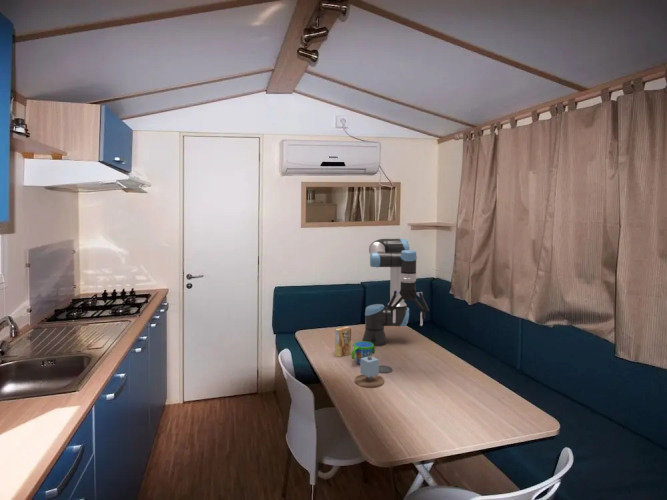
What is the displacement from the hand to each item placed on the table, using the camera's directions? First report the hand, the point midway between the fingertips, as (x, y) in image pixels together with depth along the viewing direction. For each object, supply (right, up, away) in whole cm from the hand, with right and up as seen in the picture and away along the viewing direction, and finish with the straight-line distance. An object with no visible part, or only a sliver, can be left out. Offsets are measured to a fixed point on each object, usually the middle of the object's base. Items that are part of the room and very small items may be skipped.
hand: (407, 323), depth 198 cm
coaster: (-11, -25, +6) cm, 28 cm away
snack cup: (-21, -24, +16) cm, 36 cm away
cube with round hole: (-20, -22, -8) cm, 31 cm away
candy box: (-31, -23, +29) cm, 48 cm away
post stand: (-20, -26, -8) cm, 34 cm away
